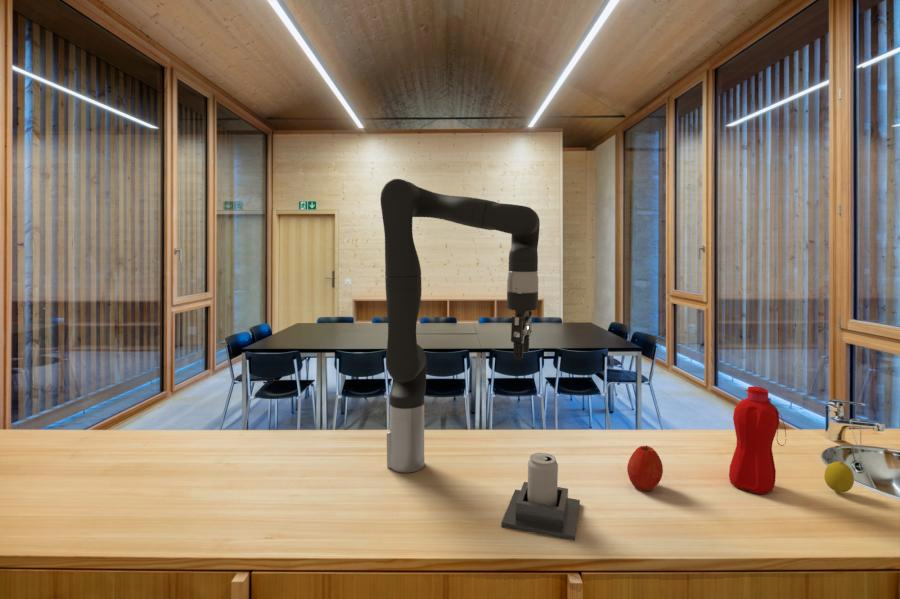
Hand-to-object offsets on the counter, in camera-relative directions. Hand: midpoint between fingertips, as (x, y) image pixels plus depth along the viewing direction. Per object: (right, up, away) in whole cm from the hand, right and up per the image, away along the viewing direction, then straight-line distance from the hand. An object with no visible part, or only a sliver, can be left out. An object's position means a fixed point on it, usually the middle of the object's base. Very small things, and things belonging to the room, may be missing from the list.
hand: (521, 355), depth 121 cm
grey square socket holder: (+3, -34, -13) cm, 36 cm away
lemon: (+76, -33, -3) cm, 83 cm away
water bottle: (+58, -33, 0) cm, 66 cm away
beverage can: (+3, -33, -13) cm, 35 cm away
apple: (+30, -33, 0) cm, 44 cm away
